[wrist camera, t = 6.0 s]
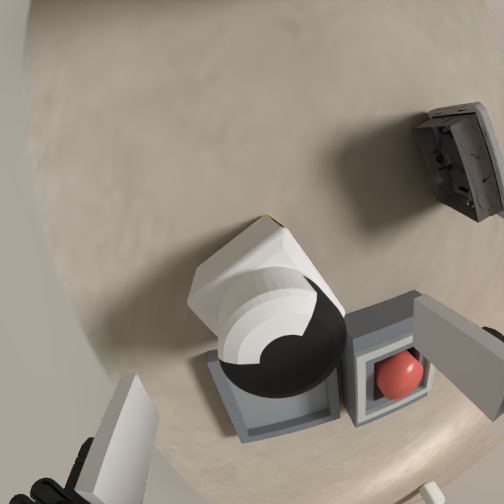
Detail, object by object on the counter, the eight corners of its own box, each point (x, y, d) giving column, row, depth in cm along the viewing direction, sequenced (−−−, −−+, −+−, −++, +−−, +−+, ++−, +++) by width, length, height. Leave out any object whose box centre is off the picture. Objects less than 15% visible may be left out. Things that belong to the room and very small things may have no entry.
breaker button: (367, 351, 24) (384, 373, 21) (405, 336, 25) (425, 355, 21) (367, 383, 26) (382, 406, 22) (403, 368, 26) (420, 388, 22)
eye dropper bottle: (431, 478, 40) (451, 509, 28) (434, 481, 41) (453, 510, 30) (416, 488, 40) (435, 520, 29) (420, 491, 42) (437, 521, 30)
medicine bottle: (316, 279, 24) (385, 356, 12) (249, 329, 24) (268, 433, 13) (266, 212, 22) (312, 244, 11) (194, 267, 23) (169, 349, 11)
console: (207, 351, 25) (205, 383, 20) (415, 289, 25) (442, 307, 21) (240, 432, 28) (243, 462, 23) (410, 377, 28) (429, 398, 24)
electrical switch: (461, 193, 24) (524, 208, 15) (429, 214, 24) (492, 237, 15) (430, 109, 21) (493, 95, 12) (394, 125, 22) (455, 111, 13)
